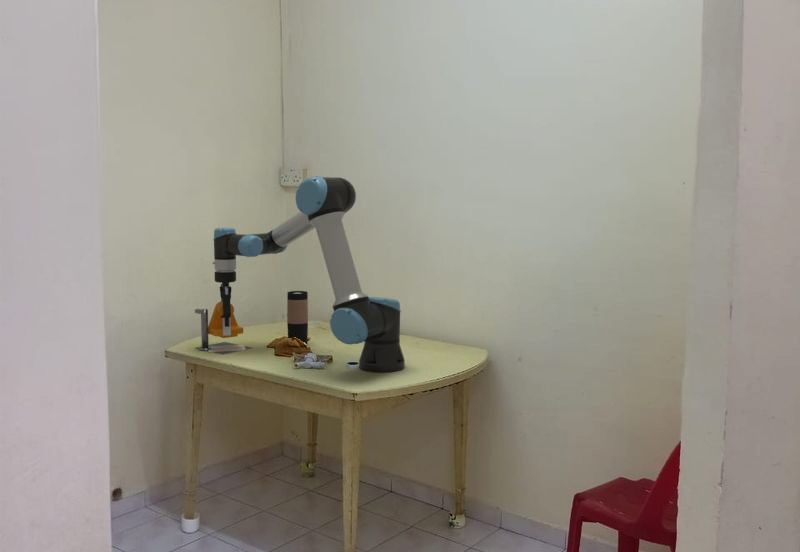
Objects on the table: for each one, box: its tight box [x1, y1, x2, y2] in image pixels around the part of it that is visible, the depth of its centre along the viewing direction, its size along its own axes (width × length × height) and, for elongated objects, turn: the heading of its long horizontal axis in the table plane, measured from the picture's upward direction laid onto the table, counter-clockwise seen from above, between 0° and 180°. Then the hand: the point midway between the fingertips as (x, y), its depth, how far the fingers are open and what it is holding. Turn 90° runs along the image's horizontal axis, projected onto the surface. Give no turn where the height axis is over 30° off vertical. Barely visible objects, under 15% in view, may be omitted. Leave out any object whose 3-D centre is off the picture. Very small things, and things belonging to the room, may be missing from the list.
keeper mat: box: [194, 341, 254, 355], centre depth 260 cm, size 16×17×1 cm
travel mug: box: [286, 290, 309, 345], centre depth 268 cm, size 8×8×20 cm
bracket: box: [208, 300, 244, 339], centre depth 258 cm, size 11×7×12 cm, turn 128°
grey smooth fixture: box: [194, 308, 212, 352], centre depth 257 cm, size 7×4×15 cm
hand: (226, 332), depth 258 cm, fingers closed on bracket, 9 cm apart
